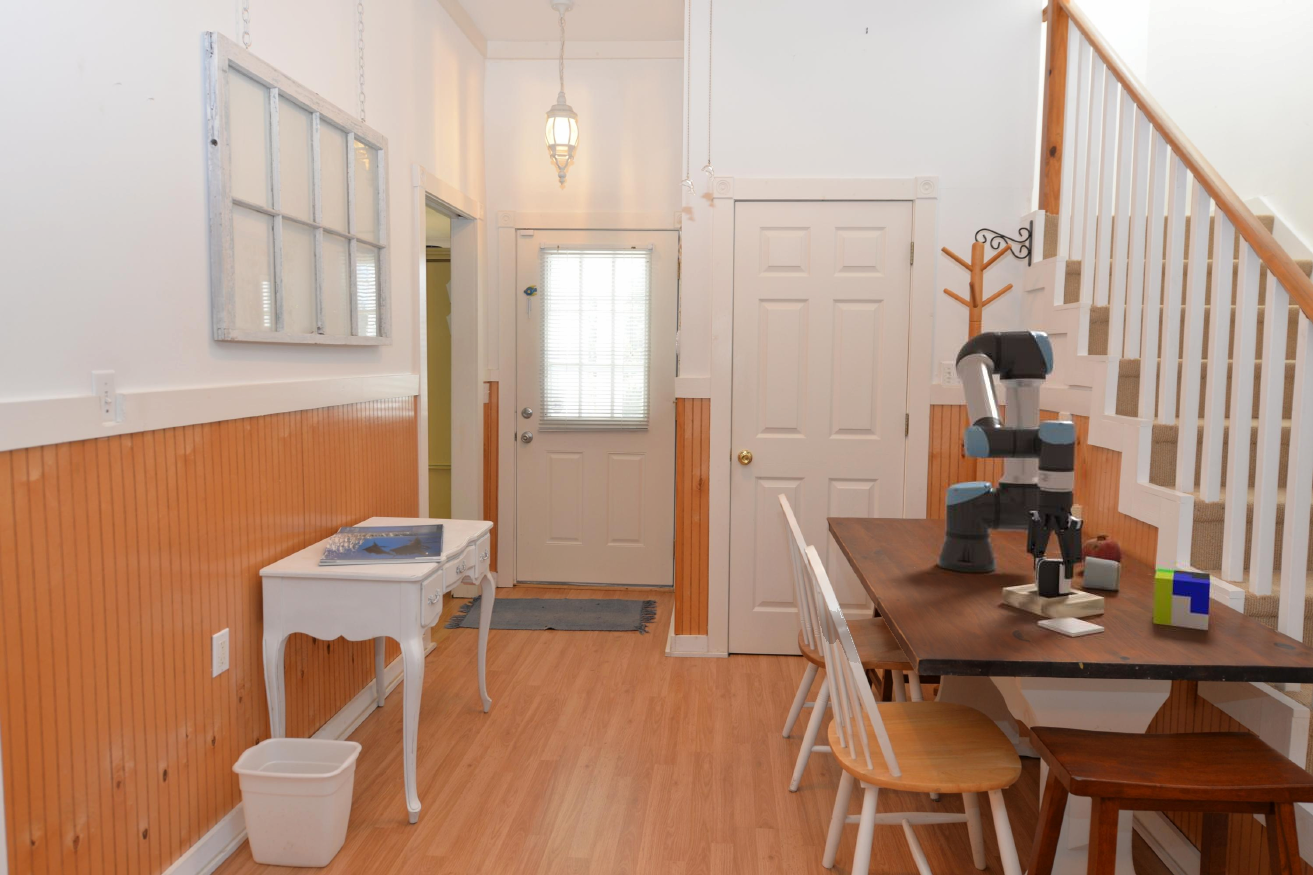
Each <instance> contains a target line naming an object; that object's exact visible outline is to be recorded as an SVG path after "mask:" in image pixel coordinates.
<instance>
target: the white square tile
mask: <svg viewBox="0 0 1313 875" xmlns="http://www.w3.org/2000/svg"><path fill="white" fill-rule="evenodd" d="M1037 626H1039V627H1042V628H1045V629H1049V630H1052V631H1054V632H1057V633H1061V634H1062V635H1067V636H1069V637H1073V638H1074V637H1079V636H1080V637H1081V636H1085V635H1090V634H1096V633H1101V632H1105V627H1103V626H1100V625H1097V624H1095V623H1091V622H1088V621H1084V620H1082V619H1081V620H1080V619H1078V618H1072V617H1069V616H1068V617H1062V618H1056V619H1051V618H1049V619H1045V620H1039V621H1037Z"/></svg>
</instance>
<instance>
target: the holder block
mask: <svg viewBox="0 0 1313 875" xmlns="http://www.w3.org/2000/svg"><path fill="white" fill-rule="evenodd" d="M1105 600H1106V598H1105V596H1104V597H1102V596H1099V595H1095V594H1092V593H1088V592H1085V591H1082V590H1078V589H1073V588H1071V592H1069V596H1062V597H1056V598H1049V599H1048V598H1045V597H1041V596H1038V595H1037V586H1035V583H1031V584H1030V583H1029V584H1023V585H1017V586H1008V587H1002V603H1003V604H1005V605H1009V606H1011V607H1013V608H1017V609H1020V610H1024V611H1027V612H1029V613H1033V614H1036V615H1039V616H1042V617H1045V618H1047V619H1048V618H1049V619H1056V618H1062V617H1068V616H1069V617H1072V618H1075V619H1078V618H1082V617H1089V616H1093V615H1100V614H1104V613H1105Z"/></svg>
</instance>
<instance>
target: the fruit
mask: <svg viewBox="0 0 1313 875" xmlns="http://www.w3.org/2000/svg"><path fill="white" fill-rule="evenodd" d="M1086 557H1092V558H1098V559H1104V560H1111V561H1115V562H1118V563H1120V564H1121V562H1122V558H1123V551H1122V548H1121V546H1120V545H1119V543H1118V542H1117V541H1115V540H1114V539H1112V538H1110V539H1109V536H1108V535H1107V534H1103V535H1096V538H1092V539H1089V540H1087V541H1086V542H1085V543H1084V544H1083V545H1082V562H1083V563H1084V564H1085V559H1086Z"/></svg>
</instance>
